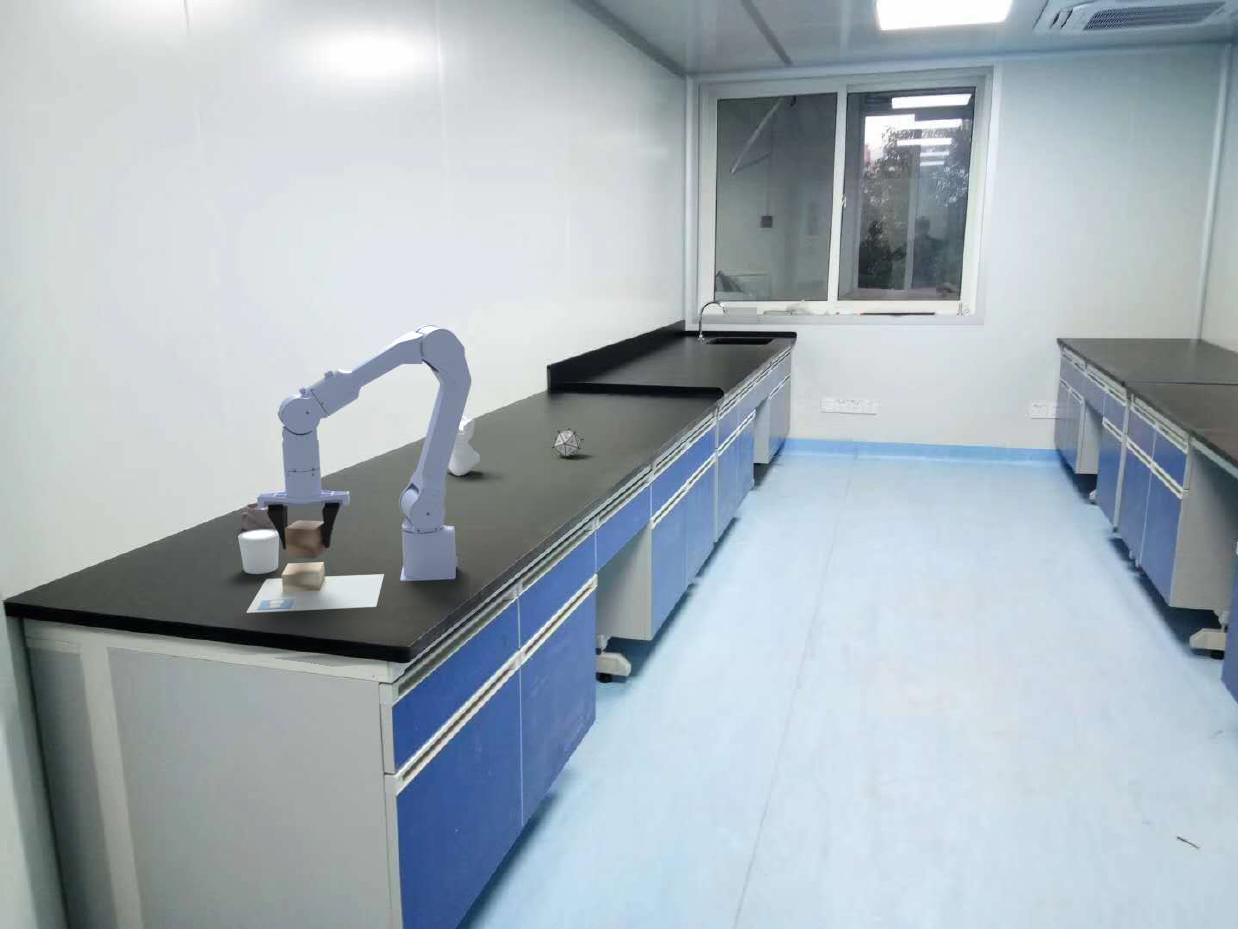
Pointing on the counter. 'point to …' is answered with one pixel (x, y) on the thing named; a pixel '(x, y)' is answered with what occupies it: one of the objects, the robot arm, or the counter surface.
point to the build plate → (320, 595)
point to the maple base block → (303, 576)
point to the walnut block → (305, 539)
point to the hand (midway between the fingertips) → (307, 547)
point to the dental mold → (256, 518)
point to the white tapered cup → (259, 550)
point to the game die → (567, 443)
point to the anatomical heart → (463, 449)
